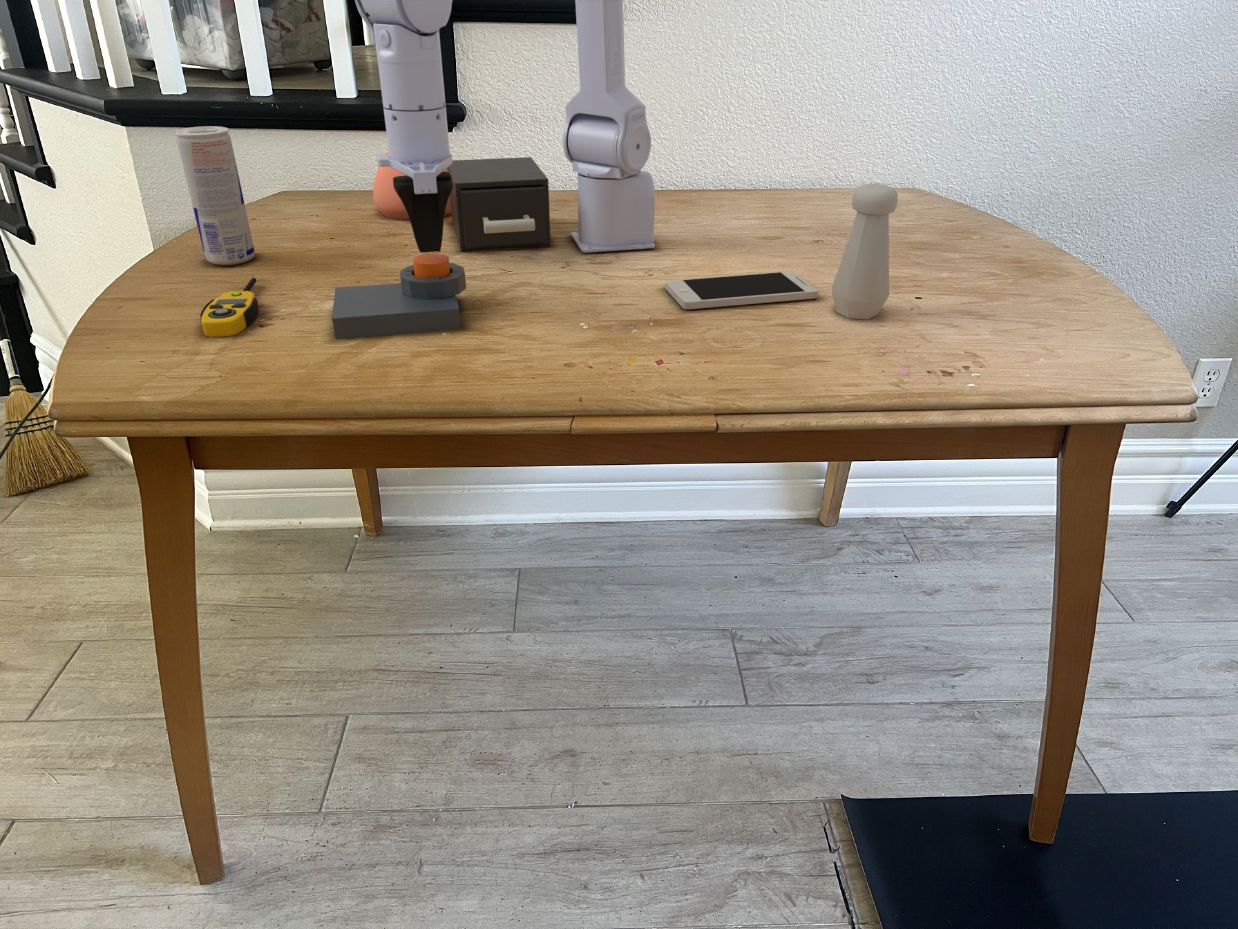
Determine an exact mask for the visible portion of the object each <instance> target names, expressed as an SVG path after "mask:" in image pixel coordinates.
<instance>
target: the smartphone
mask: <svg viewBox="0 0 1238 929" xmlns="http://www.w3.org/2000/svg"><path fill="white" fill-rule="evenodd" d="M664 289H665V290H666V291H667V292H668V293H669V295H670V296H671V297H673V299H674V300H675V301H676V302H677V303H678V304H679V306H680V307H681V308H682V309H683V310H697V309H708V308H719V307H721V308H722V307H729V306H730V307H731V306H744V305H753V304H754V305H755V304H765V303H776V302H779V303H780V302H789V301H800V300H801V301H802V300H813V299H818V295H819V290H818V289H817V288H816V287H814V286H813V285H811V284H810V283H809V282H808V281H806V280H805V279H804V278H802V277H801V276H800V275H798V274H797V273H796V272H794V271H790V270H787V271H774V272H773V271H772V272H762V273H749V274H748V273H747V274H735V275H725V276H724V275H723V276H710V277H699V278H696V277H695V278H685V279H673V280H665V284H664Z"/></svg>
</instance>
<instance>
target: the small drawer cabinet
mask: <svg viewBox="0 0 1238 929" xmlns="http://www.w3.org/2000/svg"><path fill="white" fill-rule="evenodd" d="M452 160H453V163H452V165H451V166H449V167H448V168H447V172H449V173H450V175H451V180H452V182H453V188H452V191H451V194H450V205H451V213H450V215H451V224H452V228H453V231H454V234H455V237H456V240H457V244H458V247H459V250H460V252H461V253H465V252H466V253H467V252H481V251H496V250H511V249H512V250H513V249H527V248H529V249H530V248H542V247H544V248H545V247H551V221H550V220H551V219H550V186H549V178H548V177H547V176H546V174H545V173H544V172H543V170H542V169H541V167H539V165H538V164H537V163H536V162H535V160H534V159H533V157H531V156H525V157H524V156H523V157H501V158H478V159H476V158H475V159H456V160H454V159H452ZM529 185H537V187H540V186H544V187H545V190H546V219H547V243H533V244H517V245H501V246H485V247H470V248H466V246H465V237H464V225H463V213H462V202H461V189H467V188H488V187H509V186H529Z"/></svg>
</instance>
